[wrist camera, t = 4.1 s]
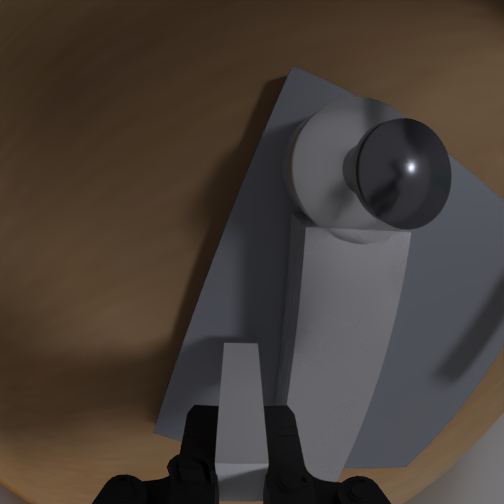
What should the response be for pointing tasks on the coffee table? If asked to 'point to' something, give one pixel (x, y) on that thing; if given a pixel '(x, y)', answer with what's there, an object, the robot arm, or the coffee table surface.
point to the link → (349, 261)
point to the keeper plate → (408, 312)
